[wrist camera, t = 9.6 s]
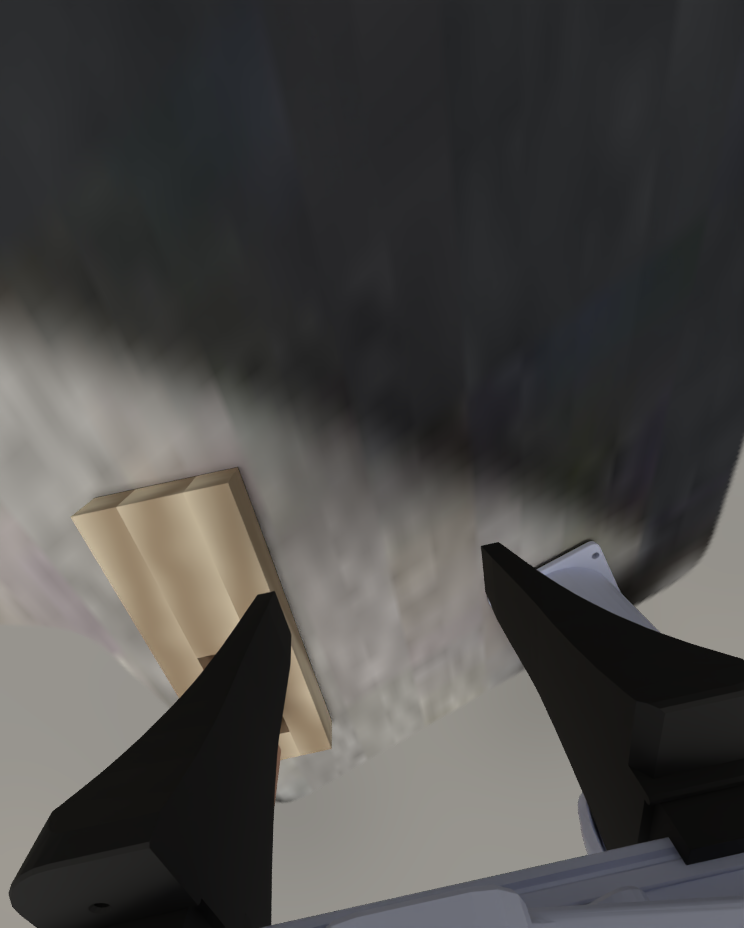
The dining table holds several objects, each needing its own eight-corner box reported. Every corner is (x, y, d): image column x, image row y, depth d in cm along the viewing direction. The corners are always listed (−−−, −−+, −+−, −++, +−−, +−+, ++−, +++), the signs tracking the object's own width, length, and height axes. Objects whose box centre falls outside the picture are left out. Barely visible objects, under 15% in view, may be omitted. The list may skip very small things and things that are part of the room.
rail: (237, 467, 21) (228, 482, 19) (331, 721, 29) (331, 748, 28) (94, 498, 21) (70, 517, 19) (230, 743, 29) (223, 772, 27)
